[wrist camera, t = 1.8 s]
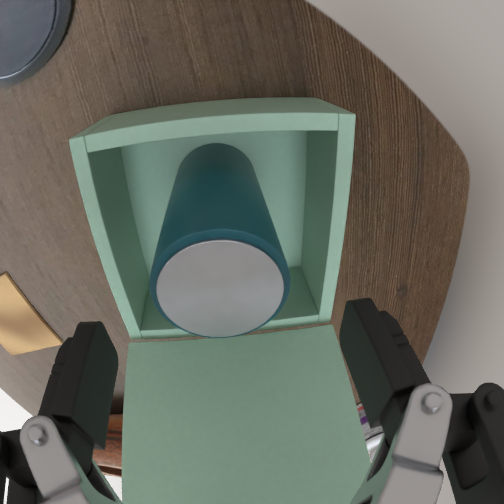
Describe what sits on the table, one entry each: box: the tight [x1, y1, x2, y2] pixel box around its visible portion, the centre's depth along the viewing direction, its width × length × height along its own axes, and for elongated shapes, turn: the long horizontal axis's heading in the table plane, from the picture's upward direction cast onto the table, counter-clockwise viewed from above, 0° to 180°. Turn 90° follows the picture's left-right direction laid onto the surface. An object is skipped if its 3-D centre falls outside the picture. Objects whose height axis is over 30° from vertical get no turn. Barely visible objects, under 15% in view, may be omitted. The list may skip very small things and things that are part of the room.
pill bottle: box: [357, 403, 384, 461], centre depth 40 cm, size 5×5×10 cm
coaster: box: [0, 272, 63, 355], centre depth 26 cm, size 10×10×1 cm
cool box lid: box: [122, 324, 371, 504], centre depth 17 cm, size 15×14×5 cm
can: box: [149, 143, 291, 338], centre depth 16 cm, size 5×5×11 cm
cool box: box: [69, 97, 356, 340], centre depth 20 cm, size 14×14×6 cm
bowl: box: [92, 414, 123, 478], centre depth 35 cm, size 16×16×10 cm
